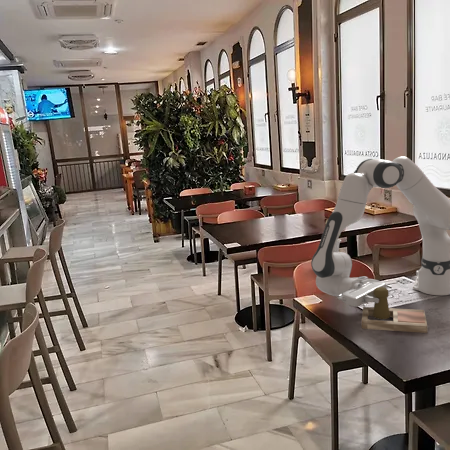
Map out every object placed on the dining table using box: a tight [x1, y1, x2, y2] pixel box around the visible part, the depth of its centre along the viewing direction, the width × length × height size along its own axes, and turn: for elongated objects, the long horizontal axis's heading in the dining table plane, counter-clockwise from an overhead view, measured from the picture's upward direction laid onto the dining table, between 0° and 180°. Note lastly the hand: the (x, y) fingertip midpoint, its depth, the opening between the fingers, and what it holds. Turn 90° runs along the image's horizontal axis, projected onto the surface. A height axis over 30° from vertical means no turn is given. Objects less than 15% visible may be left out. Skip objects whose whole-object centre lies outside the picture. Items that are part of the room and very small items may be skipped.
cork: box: [372, 287, 391, 320], centre depth 168 cm, size 6×6×11 cm
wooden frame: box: [361, 306, 428, 334], centre depth 168 cm, size 14×22×3 cm, turn 71°
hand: (383, 298), depth 167 cm, fingers closed on cork, 4 cm apart
